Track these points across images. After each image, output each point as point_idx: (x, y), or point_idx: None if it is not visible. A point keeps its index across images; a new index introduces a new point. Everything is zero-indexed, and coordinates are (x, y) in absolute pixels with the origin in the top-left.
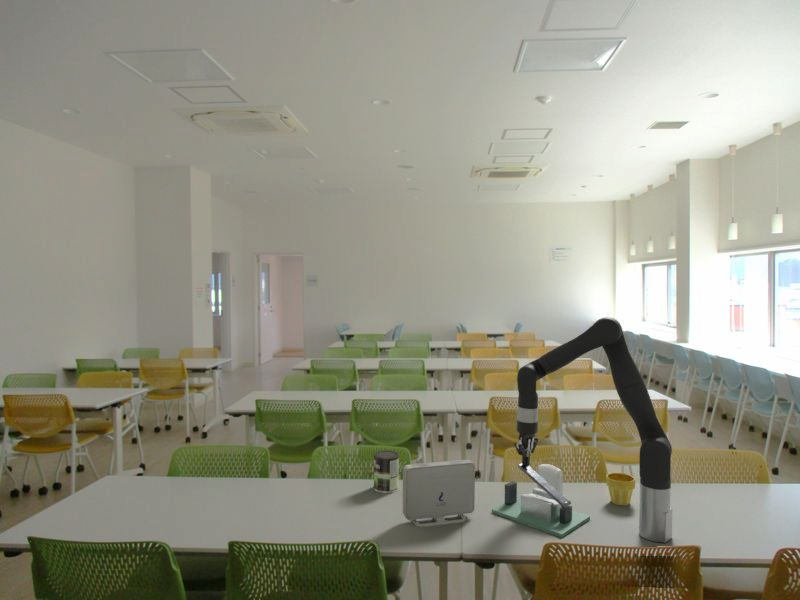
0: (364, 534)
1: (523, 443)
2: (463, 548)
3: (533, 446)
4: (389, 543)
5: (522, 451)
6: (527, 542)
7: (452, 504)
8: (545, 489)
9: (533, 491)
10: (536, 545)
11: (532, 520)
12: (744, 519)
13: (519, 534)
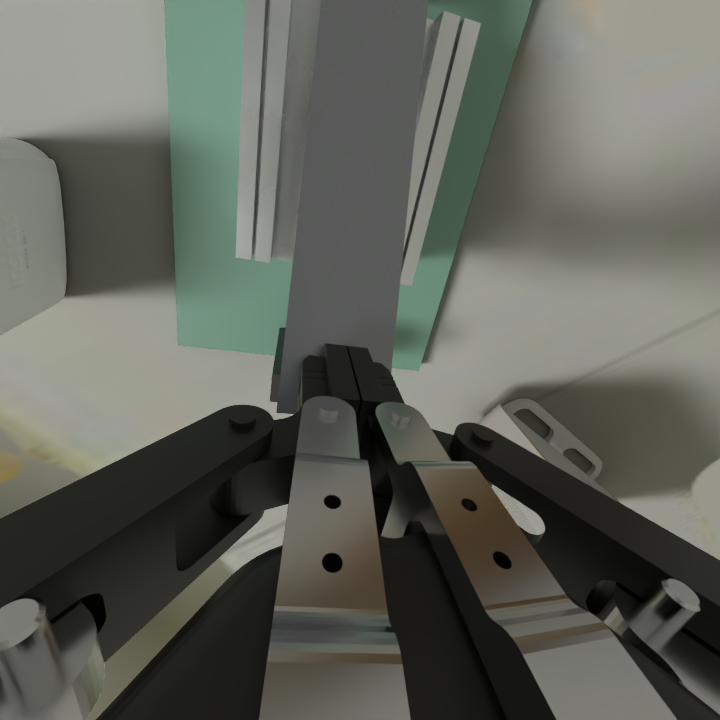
0: (668, 514)
1: (654, 667)
2: (714, 308)
3: (182, 500)
4: (705, 459)
5: (599, 495)
6: (633, 117)
7: (565, 463)
8: (415, 96)
9: (271, 255)
10: (655, 62)
11: (447, 172)
12: None
13: (567, 183)
